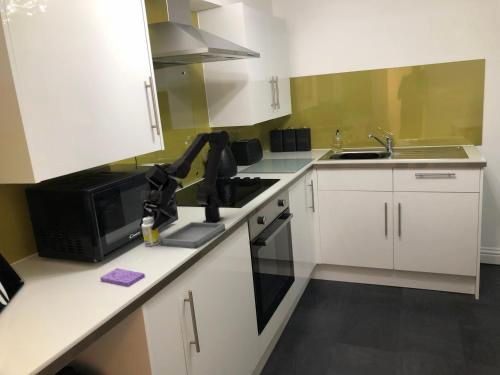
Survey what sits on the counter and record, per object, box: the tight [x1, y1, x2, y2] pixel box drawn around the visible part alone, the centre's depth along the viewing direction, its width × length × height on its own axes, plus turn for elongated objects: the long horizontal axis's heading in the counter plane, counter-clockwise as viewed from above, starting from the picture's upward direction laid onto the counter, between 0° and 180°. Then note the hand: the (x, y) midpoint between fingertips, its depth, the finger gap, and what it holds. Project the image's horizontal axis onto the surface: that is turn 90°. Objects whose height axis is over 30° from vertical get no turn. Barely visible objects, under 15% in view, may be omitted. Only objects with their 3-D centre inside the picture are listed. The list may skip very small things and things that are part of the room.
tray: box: [159, 221, 226, 249], centre depth 158 cm, size 20×16×2 cm
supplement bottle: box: [141, 216, 161, 247], centre depth 155 cm, size 6×6×10 cm
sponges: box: [99, 267, 146, 287], centre depth 127 cm, size 7×13×2 cm, turn 59°
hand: (146, 228), depth 154 cm, fingers open, 8 cm apart
